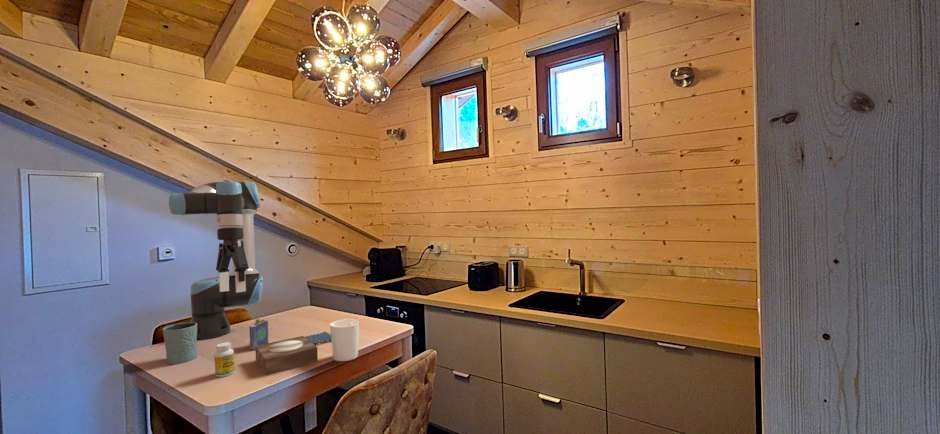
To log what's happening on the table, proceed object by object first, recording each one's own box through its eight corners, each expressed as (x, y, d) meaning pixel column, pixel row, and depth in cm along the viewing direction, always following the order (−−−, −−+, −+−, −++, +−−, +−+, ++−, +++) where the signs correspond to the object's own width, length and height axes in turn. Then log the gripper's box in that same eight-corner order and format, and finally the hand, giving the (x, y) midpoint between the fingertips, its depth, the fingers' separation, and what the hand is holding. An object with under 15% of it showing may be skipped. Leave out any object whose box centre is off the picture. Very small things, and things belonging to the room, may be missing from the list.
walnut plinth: (255, 360, 143) (255, 345, 143) (303, 349, 153) (303, 335, 152) (266, 375, 130) (265, 358, 130) (317, 361, 140) (317, 346, 140)
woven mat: (299, 342, 162) (299, 336, 162) (326, 335, 169) (325, 331, 169) (308, 349, 154) (308, 343, 154) (336, 342, 161) (335, 337, 161)
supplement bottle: (227, 369, 135) (225, 340, 135) (238, 371, 133) (237, 342, 133) (211, 376, 130) (209, 346, 130) (223, 378, 128) (221, 348, 128)
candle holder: (365, 352, 148) (364, 319, 147) (351, 363, 138) (350, 327, 138) (340, 351, 150) (339, 318, 149) (325, 361, 140) (323, 326, 140)
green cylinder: (173, 367, 139) (171, 331, 138) (158, 361, 143) (156, 327, 143) (205, 356, 147) (203, 323, 147) (189, 352, 152) (188, 320, 152)
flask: (254, 350, 152) (253, 322, 152) (247, 350, 153) (246, 321, 152) (270, 342, 161) (269, 315, 161) (263, 342, 162) (262, 315, 161)
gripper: (204, 230, 143) (205, 292, 142) (233, 224, 127) (235, 293, 126) (227, 230, 149) (229, 289, 147) (258, 224, 133) (260, 290, 132)
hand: (232, 291), depth 137 cm, fingers open, 13 cm apart
